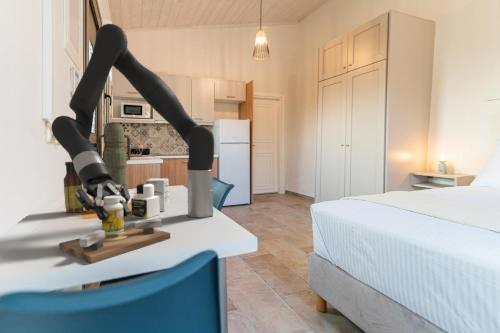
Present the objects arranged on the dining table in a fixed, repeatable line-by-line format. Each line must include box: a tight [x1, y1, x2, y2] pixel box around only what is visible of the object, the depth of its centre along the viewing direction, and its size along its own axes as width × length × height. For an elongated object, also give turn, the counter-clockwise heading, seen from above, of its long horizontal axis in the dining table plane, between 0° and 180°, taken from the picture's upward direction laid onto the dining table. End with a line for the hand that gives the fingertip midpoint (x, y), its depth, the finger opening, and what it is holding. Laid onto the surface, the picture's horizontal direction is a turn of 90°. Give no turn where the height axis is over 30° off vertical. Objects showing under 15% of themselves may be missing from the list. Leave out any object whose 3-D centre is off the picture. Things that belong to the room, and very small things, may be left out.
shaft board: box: [58, 218, 171, 264], centre depth 79 cm, size 16×23×5 cm
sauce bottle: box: [63, 161, 85, 214], centre depth 116 cm, size 6×6×20 cm
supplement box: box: [145, 178, 170, 213], centre depth 120 cm, size 7×7×13 cm
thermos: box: [97, 122, 132, 205], centre depth 120 cm, size 9×12×35 cm
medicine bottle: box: [130, 183, 161, 220], centre depth 109 cm, size 7×7×12 cm
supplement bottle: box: [101, 196, 125, 234], centre depth 80 cm, size 5×5×10 cm
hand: (116, 217), depth 79 cm, fingers open, 5 cm apart
